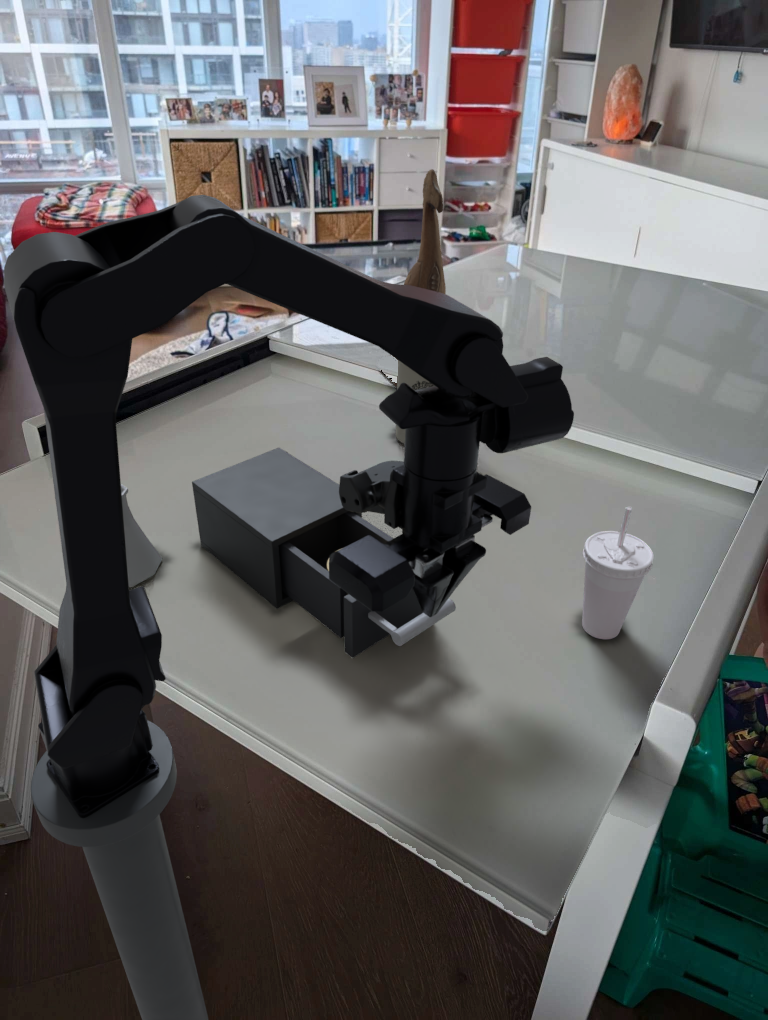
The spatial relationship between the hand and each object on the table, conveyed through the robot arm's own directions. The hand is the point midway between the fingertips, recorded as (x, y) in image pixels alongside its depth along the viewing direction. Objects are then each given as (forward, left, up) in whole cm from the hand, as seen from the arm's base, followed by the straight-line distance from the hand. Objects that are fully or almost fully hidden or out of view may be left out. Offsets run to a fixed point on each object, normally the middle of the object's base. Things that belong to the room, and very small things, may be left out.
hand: (429, 613), depth 68 cm
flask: (-14, +32, -7) cm, 36 cm away
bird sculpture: (+46, +47, -7) cm, 66 cm away
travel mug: (+32, +32, -7) cm, 46 cm away
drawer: (0, +9, -6) cm, 11 cm away
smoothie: (+17, -8, -7) cm, 20 cm away
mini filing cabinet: (0, +23, -7) cm, 24 cm away
